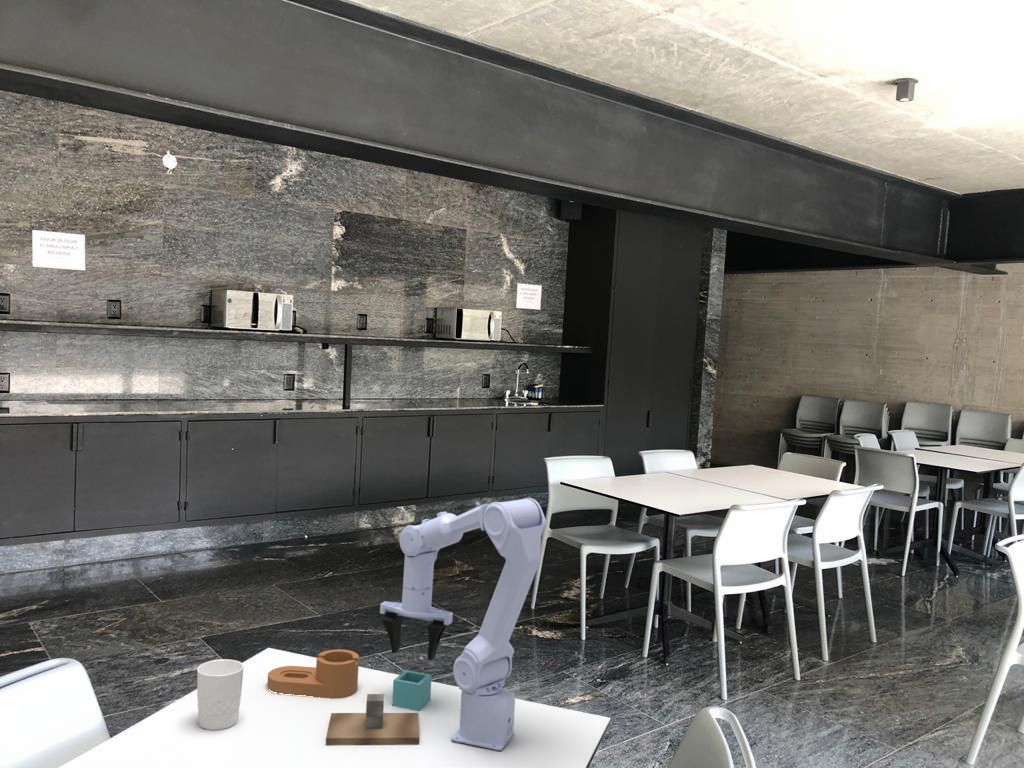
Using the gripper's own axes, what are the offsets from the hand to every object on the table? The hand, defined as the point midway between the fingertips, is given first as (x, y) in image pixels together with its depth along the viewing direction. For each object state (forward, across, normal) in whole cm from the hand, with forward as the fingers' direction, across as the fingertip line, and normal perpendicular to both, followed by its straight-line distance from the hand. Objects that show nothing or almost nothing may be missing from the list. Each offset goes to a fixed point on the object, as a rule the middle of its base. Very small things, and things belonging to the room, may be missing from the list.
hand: (413, 654), depth 160 cm
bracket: (+10, +21, +2) cm, 23 cm away
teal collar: (+10, 0, 0) cm, 10 cm away
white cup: (+10, +28, +22) cm, 37 cm away
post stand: (+9, +1, +14) cm, 17 cm away
